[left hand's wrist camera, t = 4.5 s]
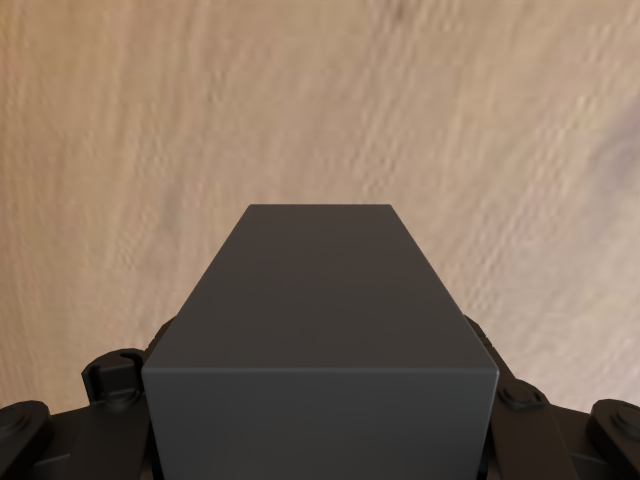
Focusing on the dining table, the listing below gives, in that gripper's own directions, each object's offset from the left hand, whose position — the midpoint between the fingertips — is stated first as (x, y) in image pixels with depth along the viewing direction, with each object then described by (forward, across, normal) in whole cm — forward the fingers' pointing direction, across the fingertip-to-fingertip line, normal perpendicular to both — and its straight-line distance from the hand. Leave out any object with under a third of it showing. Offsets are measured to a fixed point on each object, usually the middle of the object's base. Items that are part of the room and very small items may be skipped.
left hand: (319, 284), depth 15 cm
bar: (0, 0, -9) cm, 9 cm away
